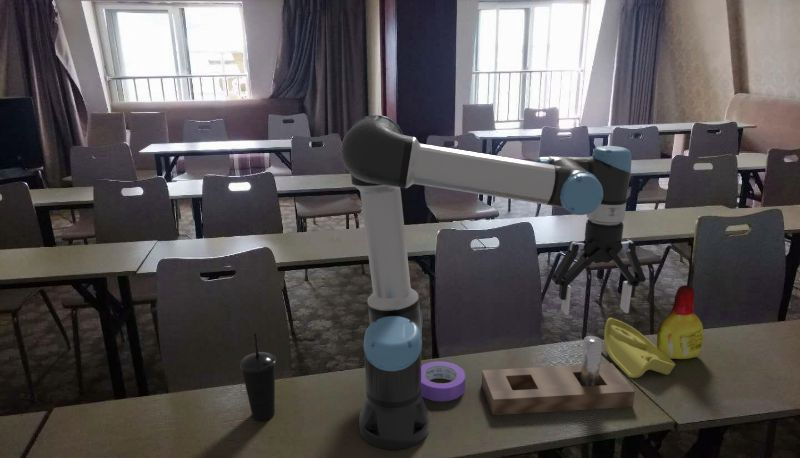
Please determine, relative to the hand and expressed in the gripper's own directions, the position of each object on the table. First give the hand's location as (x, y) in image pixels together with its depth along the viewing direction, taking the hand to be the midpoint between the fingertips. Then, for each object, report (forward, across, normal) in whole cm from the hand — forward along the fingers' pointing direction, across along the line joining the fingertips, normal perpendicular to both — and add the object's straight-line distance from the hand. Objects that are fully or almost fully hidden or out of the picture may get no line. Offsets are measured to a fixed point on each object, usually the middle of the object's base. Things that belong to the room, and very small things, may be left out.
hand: (594, 311), depth 127 cm
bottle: (+21, +30, +14) cm, 39 cm away
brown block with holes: (+21, -7, 0) cm, 22 cm away
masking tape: (+22, -33, +6) cm, 40 cm away
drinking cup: (+22, -74, -1) cm, 78 cm away
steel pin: (+21, +1, 0) cm, 21 cm away
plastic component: (+21, +19, +14) cm, 32 cm away
